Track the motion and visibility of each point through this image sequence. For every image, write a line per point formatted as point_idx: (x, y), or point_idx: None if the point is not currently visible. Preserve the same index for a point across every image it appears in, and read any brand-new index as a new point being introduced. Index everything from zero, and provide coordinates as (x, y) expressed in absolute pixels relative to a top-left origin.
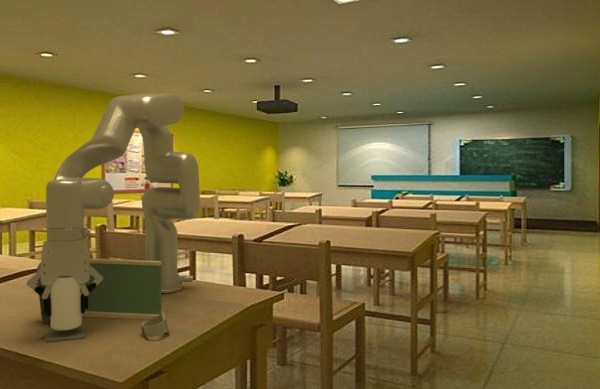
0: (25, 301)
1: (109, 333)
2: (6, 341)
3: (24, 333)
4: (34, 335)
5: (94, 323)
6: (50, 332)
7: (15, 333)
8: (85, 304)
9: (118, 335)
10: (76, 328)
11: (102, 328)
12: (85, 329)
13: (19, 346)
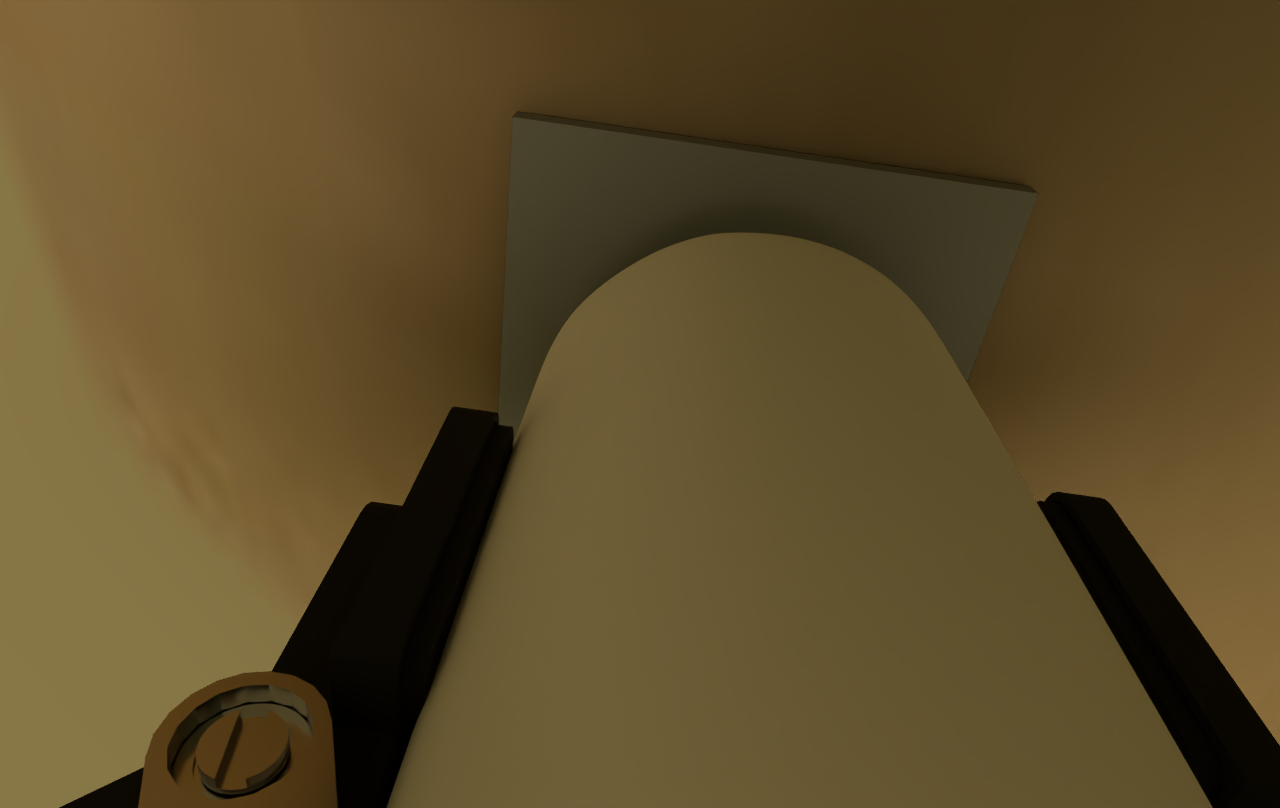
0: None
1: (1168, 540)
2: (77, 306)
3: (206, 70)
4: (358, 228)
5: (1225, 33)
6: (546, 285)
7: (74, 6)
8: None
9: (1211, 628)
10: (883, 270)
11: (1196, 337)
12: (976, 353)
13: (267, 513)
